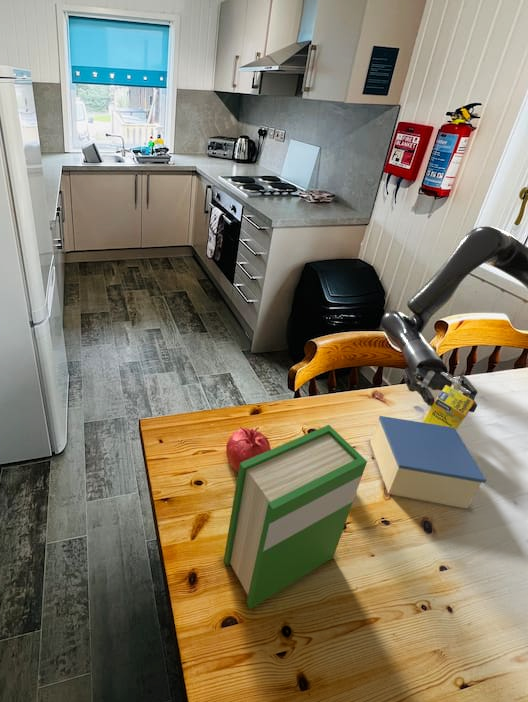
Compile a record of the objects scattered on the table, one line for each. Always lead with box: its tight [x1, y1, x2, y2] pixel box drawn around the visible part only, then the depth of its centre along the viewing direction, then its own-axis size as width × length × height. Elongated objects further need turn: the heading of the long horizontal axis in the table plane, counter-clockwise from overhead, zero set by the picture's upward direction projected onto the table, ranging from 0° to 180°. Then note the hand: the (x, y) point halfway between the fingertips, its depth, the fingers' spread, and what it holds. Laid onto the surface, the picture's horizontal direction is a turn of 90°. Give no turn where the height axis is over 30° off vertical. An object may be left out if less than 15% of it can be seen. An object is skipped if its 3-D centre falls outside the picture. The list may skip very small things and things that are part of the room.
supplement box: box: [421, 385, 474, 431], centre depth 90 cm, size 6×6×11 cm
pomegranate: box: [225, 426, 272, 473], centre depth 83 cm, size 10×10×9 cm
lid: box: [378, 415, 487, 484], centre depth 80 cm, size 15×13×1 cm
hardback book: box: [223, 424, 368, 610], centre depth 63 cm, size 18×7×24 cm, turn 116°
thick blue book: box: [370, 418, 482, 510], centre depth 82 cm, size 15×13×8 cm
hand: (452, 406), depth 88 cm, fingers closed on supplement box, 8 cm apart
